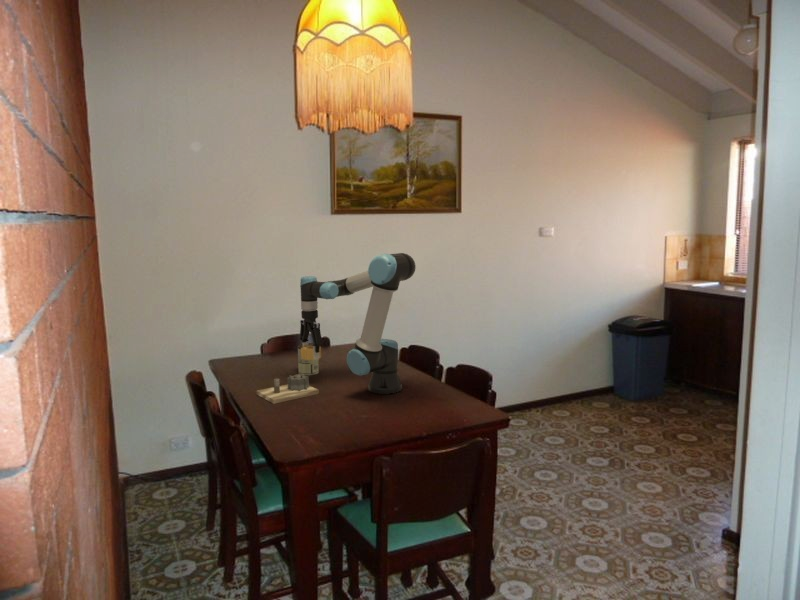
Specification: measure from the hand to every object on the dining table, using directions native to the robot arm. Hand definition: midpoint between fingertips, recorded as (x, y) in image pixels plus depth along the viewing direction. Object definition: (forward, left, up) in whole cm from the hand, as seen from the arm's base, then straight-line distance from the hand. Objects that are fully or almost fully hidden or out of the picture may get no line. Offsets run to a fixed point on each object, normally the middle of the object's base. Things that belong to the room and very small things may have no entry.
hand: (311, 357), depth 271 cm
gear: (0, 0, 0) cm, 0 cm away
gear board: (-9, +17, -12) cm, 23 cm away
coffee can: (+16, -8, -13) cm, 22 cm away
